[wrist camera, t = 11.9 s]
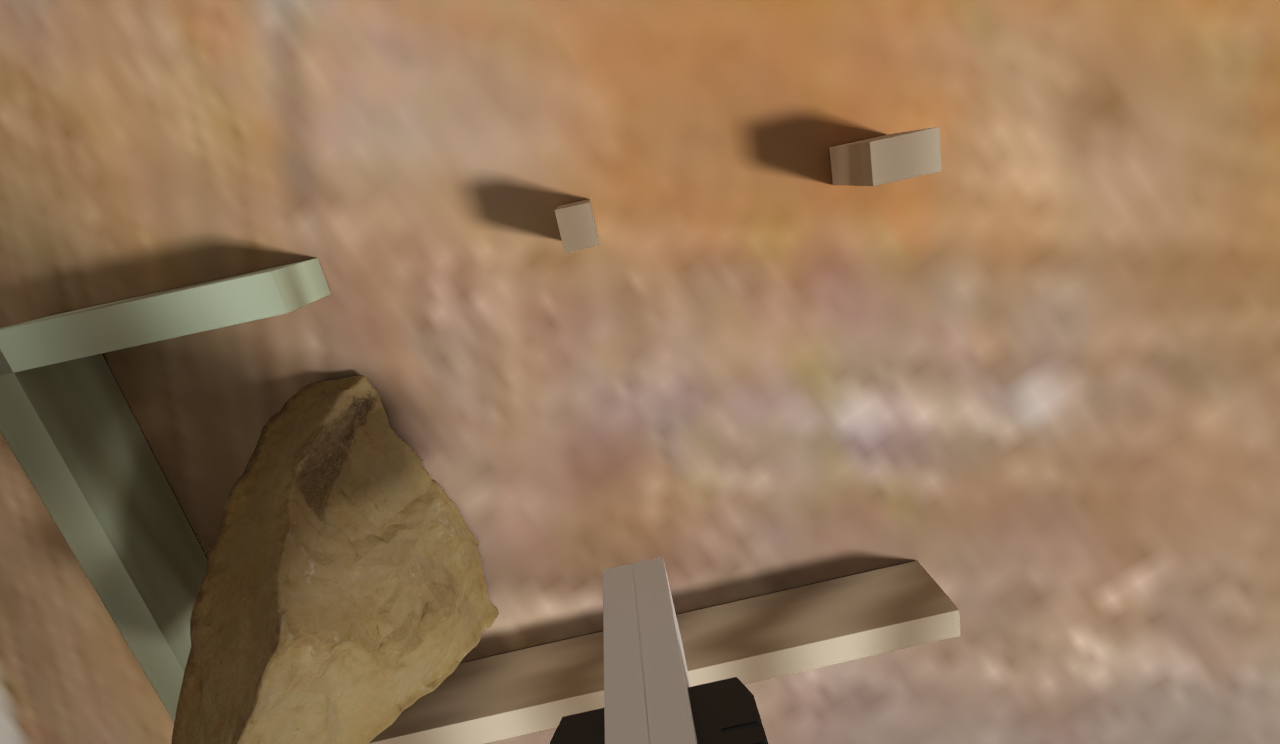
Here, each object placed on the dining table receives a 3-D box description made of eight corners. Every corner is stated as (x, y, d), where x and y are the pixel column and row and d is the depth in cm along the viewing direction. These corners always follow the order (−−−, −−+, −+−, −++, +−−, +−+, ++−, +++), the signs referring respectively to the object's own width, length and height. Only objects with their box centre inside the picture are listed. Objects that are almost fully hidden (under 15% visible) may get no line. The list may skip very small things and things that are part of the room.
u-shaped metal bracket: (888, 134, 20) (939, 126, 17) (918, 584, 25) (960, 635, 22) (42, 317, 19) (-53, 341, 16) (264, 731, 25) (222, 802, 22)
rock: (172, 353, 18) (136, 654, 19) (231, 459, 12) (171, 883, 13) (493, 374, 25) (449, 588, 27) (626, 445, 20) (561, 715, 21)
